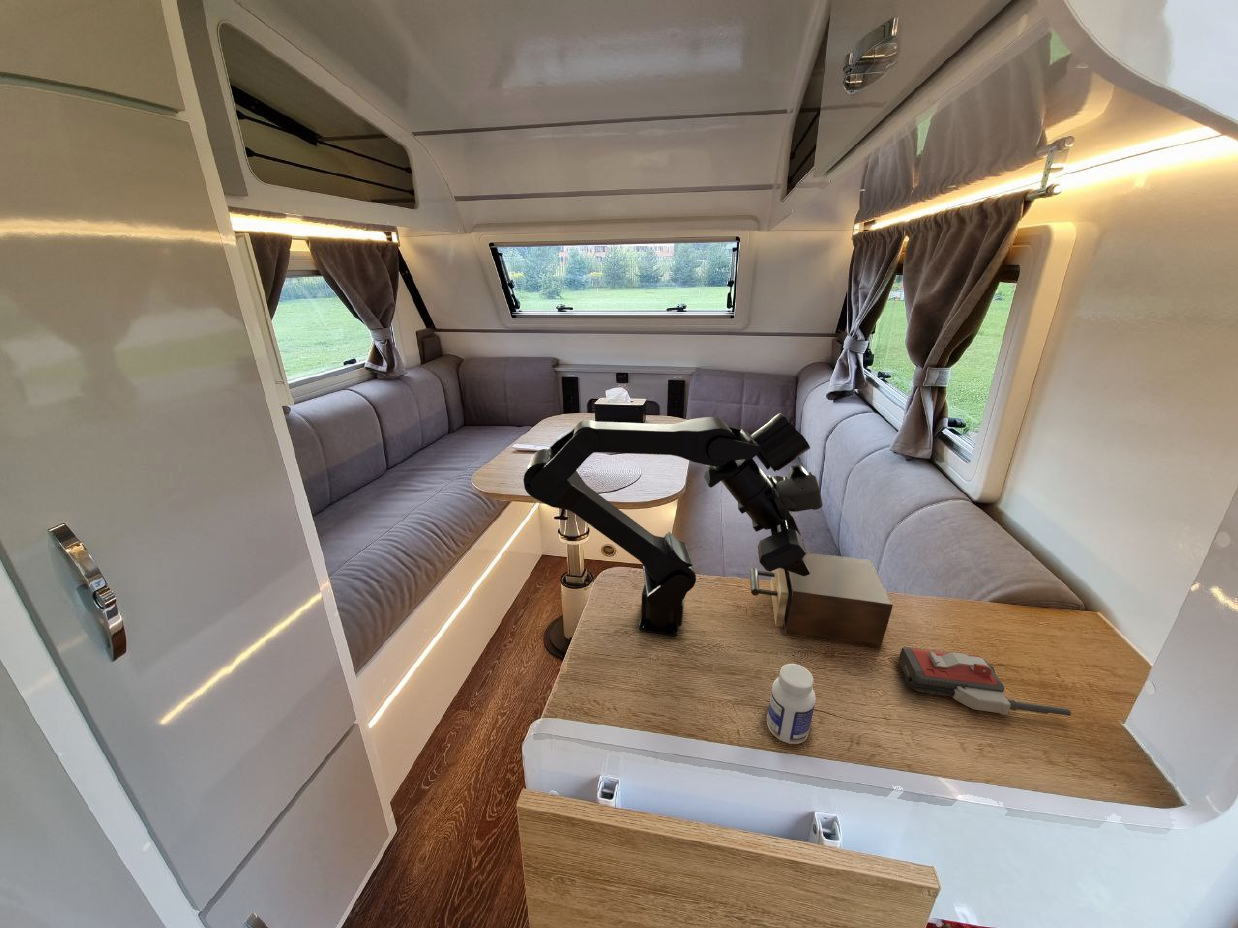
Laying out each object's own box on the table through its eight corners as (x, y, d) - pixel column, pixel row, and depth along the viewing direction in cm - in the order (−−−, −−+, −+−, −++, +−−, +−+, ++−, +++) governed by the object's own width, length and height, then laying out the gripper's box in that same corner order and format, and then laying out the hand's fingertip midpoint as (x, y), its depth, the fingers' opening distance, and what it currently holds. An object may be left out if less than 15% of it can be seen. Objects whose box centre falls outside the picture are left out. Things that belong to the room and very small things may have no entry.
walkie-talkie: (909, 703, 66) (1072, 726, 63) (917, 679, 64) (1084, 702, 61) (887, 657, 74) (1030, 675, 71) (894, 634, 72) (1040, 652, 69)
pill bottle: (809, 718, 63) (820, 667, 60) (807, 751, 59) (819, 698, 56) (768, 704, 65) (777, 654, 62) (763, 735, 61) (772, 683, 58)
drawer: (748, 621, 80) (753, 588, 77) (746, 581, 90) (750, 551, 88) (862, 638, 76) (871, 604, 74) (846, 595, 87) (853, 564, 84)
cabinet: (785, 633, 78) (793, 591, 75) (778, 588, 90) (784, 549, 87) (880, 648, 76) (893, 604, 72) (860, 599, 87) (870, 559, 84)
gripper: (810, 499, 60) (867, 577, 65) (790, 432, 76) (837, 499, 81) (734, 534, 65) (792, 604, 70) (730, 465, 81) (778, 526, 86)
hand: (802, 554), depth 77 cm, fingers open, 9 cm apart
